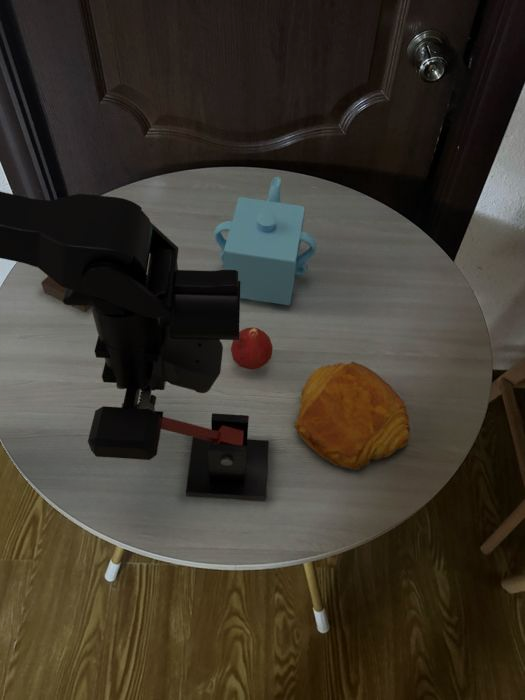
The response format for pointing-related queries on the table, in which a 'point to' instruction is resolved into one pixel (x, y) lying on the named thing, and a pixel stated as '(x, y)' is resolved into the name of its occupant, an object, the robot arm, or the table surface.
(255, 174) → the table surface
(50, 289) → the button block
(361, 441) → the croissant
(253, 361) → the onion
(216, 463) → the bracket
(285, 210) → the teapot
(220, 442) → the lever
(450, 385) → the table surface
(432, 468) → the table surface
